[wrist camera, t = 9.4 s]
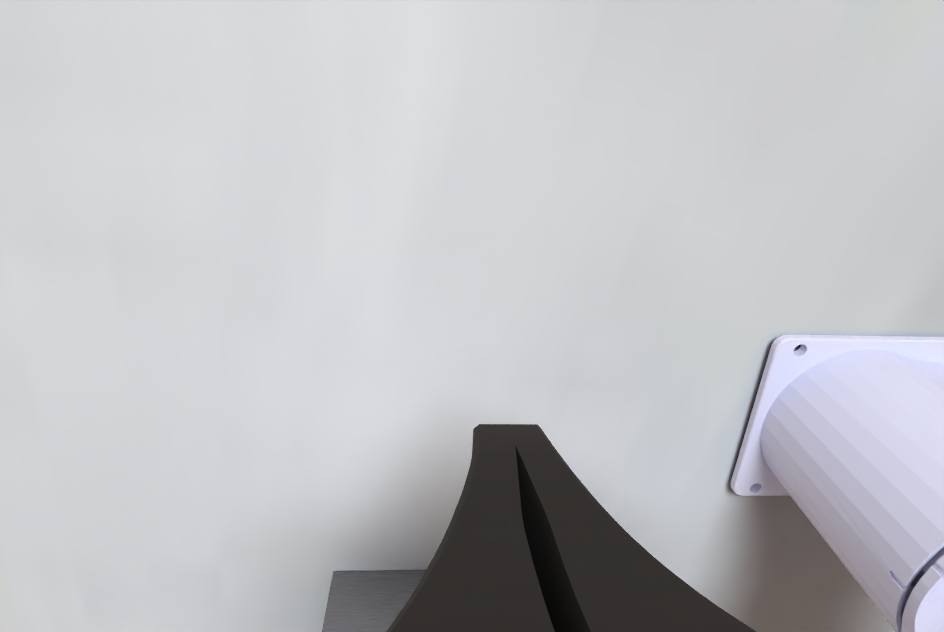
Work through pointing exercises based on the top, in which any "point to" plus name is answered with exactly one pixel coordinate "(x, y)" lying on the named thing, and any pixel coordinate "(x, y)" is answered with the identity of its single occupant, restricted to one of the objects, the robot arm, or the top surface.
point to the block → (368, 599)
